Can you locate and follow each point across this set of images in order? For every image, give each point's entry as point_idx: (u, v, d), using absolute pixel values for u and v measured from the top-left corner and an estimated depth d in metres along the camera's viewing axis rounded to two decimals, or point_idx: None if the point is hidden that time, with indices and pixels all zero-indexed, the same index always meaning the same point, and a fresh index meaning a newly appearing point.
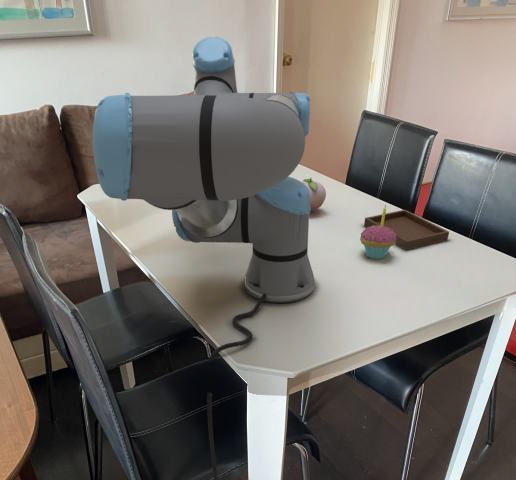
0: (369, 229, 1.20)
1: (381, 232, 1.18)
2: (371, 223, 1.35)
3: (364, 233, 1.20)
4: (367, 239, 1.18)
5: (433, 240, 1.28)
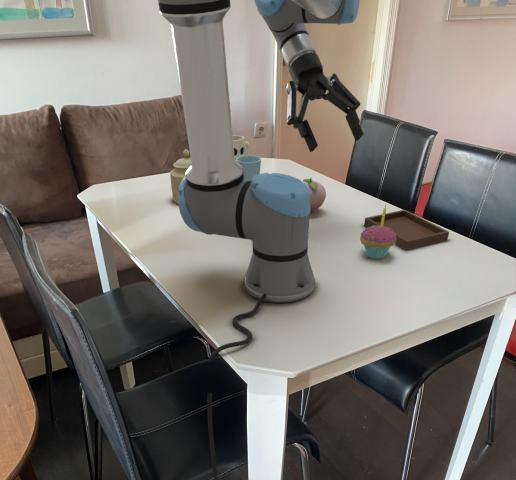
0: (369, 229, 1.20)
1: (381, 232, 1.18)
2: (371, 223, 1.35)
3: (364, 233, 1.20)
4: (367, 239, 1.18)
5: (433, 240, 1.28)
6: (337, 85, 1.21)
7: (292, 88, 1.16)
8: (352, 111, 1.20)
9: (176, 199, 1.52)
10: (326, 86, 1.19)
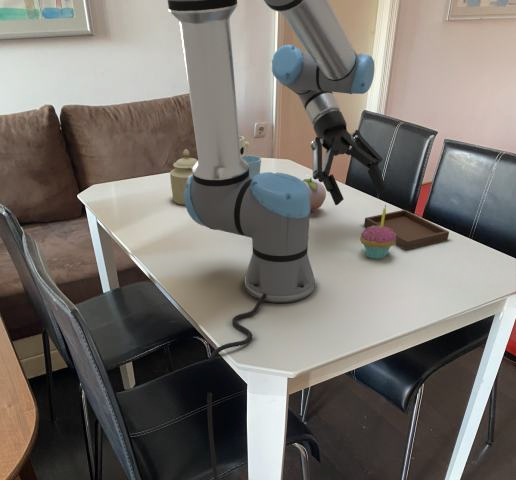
0: (369, 229, 1.20)
1: (381, 232, 1.18)
2: (371, 223, 1.35)
3: (364, 233, 1.20)
4: (367, 239, 1.18)
5: (433, 240, 1.28)
6: (360, 141, 1.24)
7: (318, 144, 1.18)
8: (375, 166, 1.23)
9: (176, 199, 1.52)
10: (350, 142, 1.22)
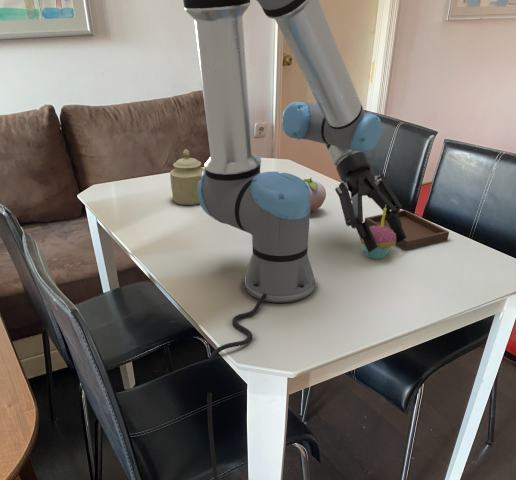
0: None
1: (381, 232, 1.18)
2: (371, 223, 1.35)
3: None
4: None
5: (433, 240, 1.28)
6: (383, 185, 1.21)
7: (344, 190, 1.16)
8: (394, 215, 1.20)
9: (176, 199, 1.52)
10: (374, 184, 1.19)
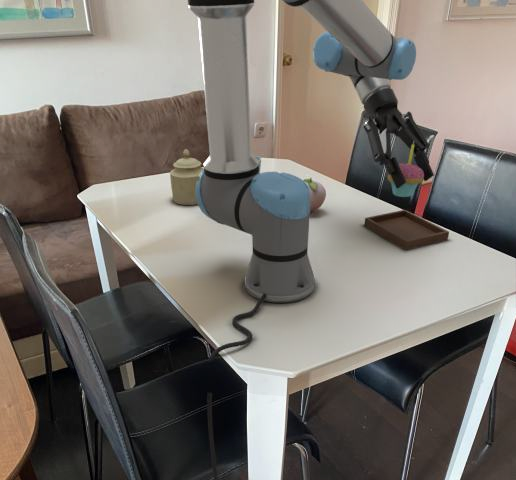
0: None
1: (409, 168, 1.18)
2: (371, 223, 1.35)
3: None
4: None
5: (433, 240, 1.28)
6: (410, 123, 1.21)
7: (373, 125, 1.16)
8: (422, 152, 1.20)
9: (176, 199, 1.52)
10: (401, 121, 1.19)
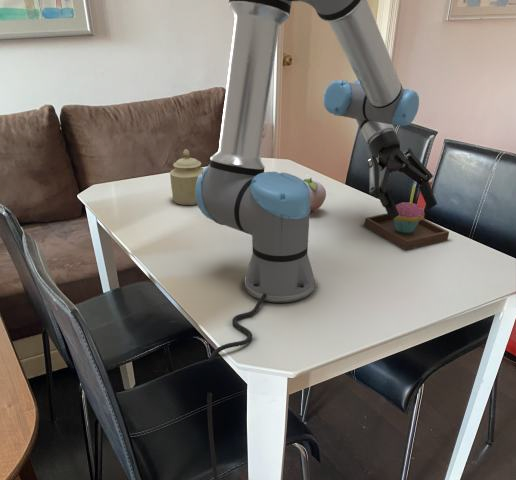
0: (399, 205, 1.30)
1: (411, 207, 1.28)
2: (371, 223, 1.35)
3: None
4: None
5: (433, 240, 1.28)
6: (412, 159, 1.31)
7: (375, 162, 1.26)
8: (426, 183, 1.31)
9: (176, 199, 1.52)
10: (403, 160, 1.29)
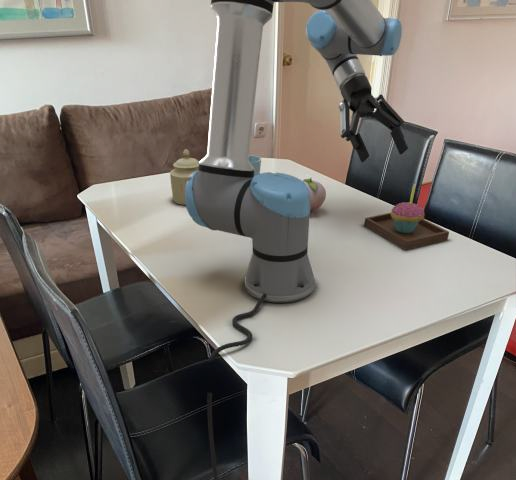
0: (399, 205, 1.30)
1: (411, 207, 1.28)
2: (371, 223, 1.35)
3: (395, 209, 1.30)
4: (398, 214, 1.28)
5: (433, 240, 1.28)
6: (383, 105, 1.34)
7: (346, 105, 1.28)
8: (397, 127, 1.33)
9: (176, 199, 1.52)
10: (375, 105, 1.31)
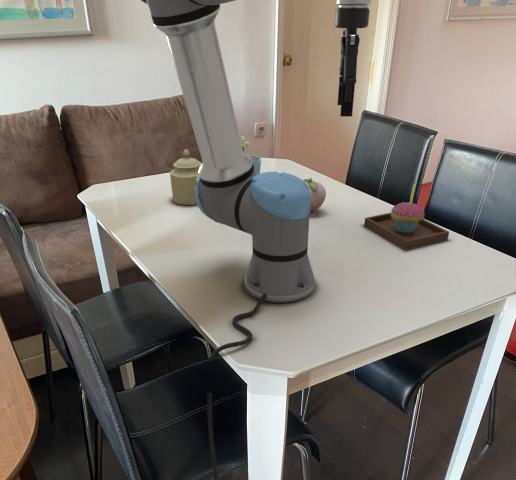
0: (399, 205, 1.30)
1: (411, 207, 1.28)
2: (371, 223, 1.35)
3: (395, 209, 1.30)
4: (398, 214, 1.28)
5: (433, 240, 1.28)
6: None
7: (357, 44, 1.10)
8: None
9: (176, 199, 1.52)
10: None
